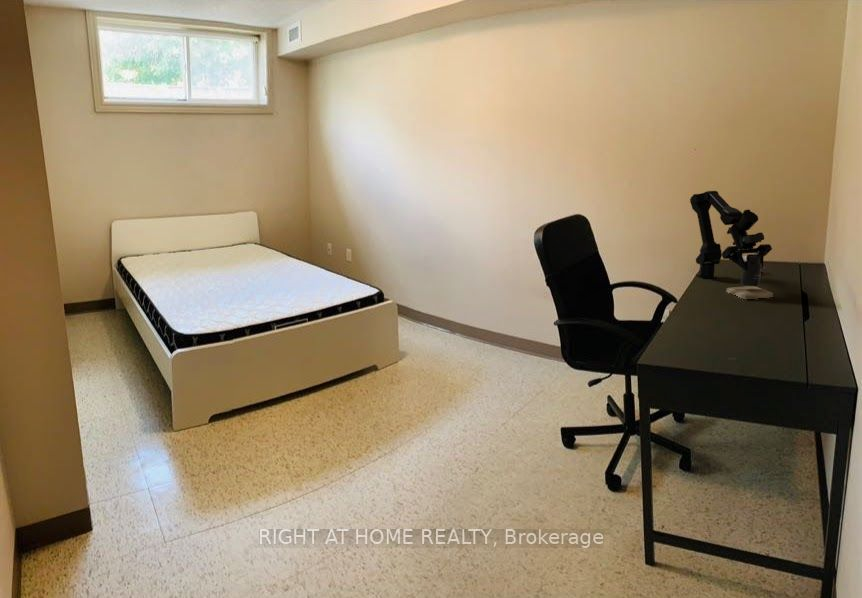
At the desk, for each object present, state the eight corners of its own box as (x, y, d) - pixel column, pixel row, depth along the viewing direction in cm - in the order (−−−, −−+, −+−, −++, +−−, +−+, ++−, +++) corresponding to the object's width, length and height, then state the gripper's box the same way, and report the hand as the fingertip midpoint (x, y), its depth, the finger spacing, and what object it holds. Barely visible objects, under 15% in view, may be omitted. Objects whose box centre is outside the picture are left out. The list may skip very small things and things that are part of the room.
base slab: (726, 292, 249) (726, 287, 249) (752, 290, 251) (753, 285, 250) (745, 300, 238) (745, 295, 237) (772, 298, 239) (773, 292, 239)
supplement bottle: (758, 287, 239) (762, 258, 235) (739, 285, 242) (743, 256, 239) (759, 282, 244) (763, 254, 241) (741, 281, 248) (744, 253, 244)
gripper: (729, 226, 239) (743, 260, 232) (772, 224, 241) (787, 257, 234) (715, 242, 249) (728, 274, 242) (757, 239, 251) (771, 271, 244)
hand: (754, 269), depth 240 cm, fingers closed on supplement bottle, 7 cm apart
